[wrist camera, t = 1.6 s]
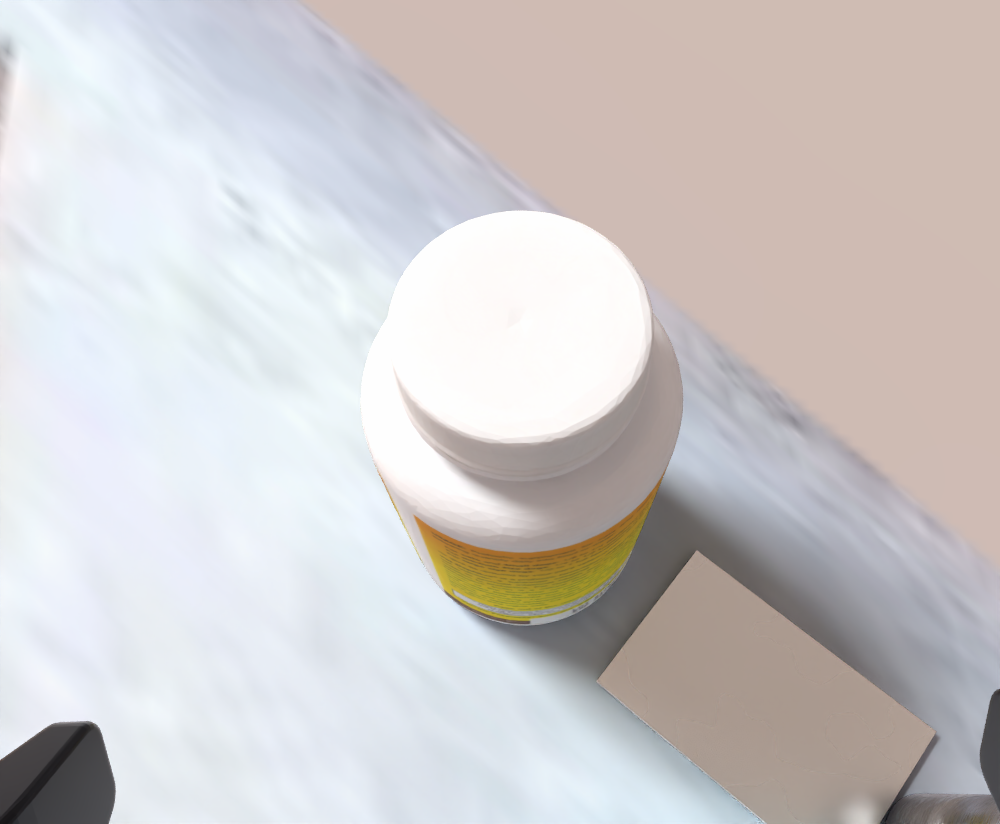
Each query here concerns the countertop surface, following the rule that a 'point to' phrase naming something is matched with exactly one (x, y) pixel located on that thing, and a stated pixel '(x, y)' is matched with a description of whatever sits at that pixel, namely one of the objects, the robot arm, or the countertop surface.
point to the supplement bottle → (522, 413)
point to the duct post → (774, 711)
